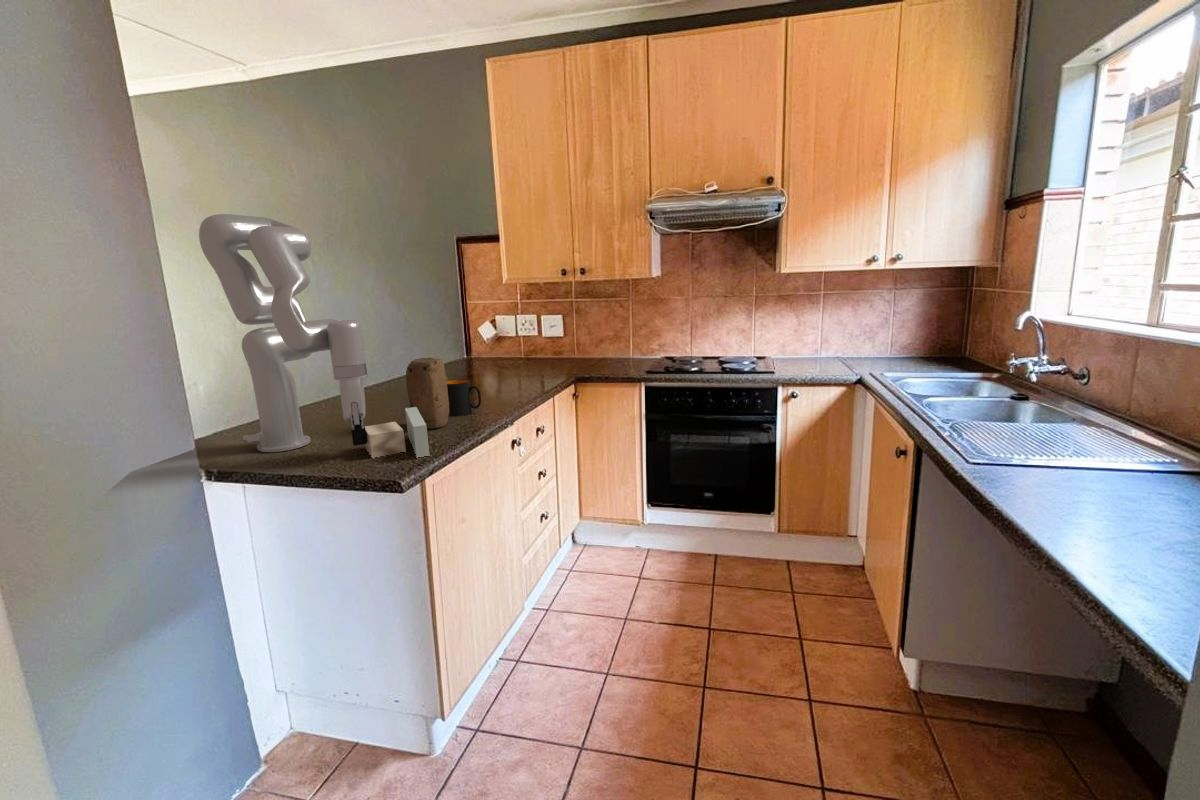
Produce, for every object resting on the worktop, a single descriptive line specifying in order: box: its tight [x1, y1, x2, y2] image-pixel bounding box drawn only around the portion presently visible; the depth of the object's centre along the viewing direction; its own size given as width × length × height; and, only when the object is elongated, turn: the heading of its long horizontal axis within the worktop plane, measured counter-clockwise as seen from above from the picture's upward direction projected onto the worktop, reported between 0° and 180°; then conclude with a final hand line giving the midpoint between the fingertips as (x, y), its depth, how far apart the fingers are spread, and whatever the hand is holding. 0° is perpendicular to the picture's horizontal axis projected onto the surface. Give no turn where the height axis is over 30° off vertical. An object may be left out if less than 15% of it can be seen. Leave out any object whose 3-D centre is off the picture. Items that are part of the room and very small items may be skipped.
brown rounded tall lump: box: [405, 357, 450, 430], centre depth 164 cm, size 11×8×20 cm
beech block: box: [364, 421, 407, 459], centre depth 143 cm, size 8×10×6 cm
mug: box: [447, 378, 482, 417], centre depth 179 cm, size 8×12×10 cm
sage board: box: [404, 407, 431, 459], centre depth 146 cm, size 3×22×8 cm, turn 24°
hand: (360, 443), depth 141 cm, fingers closed
